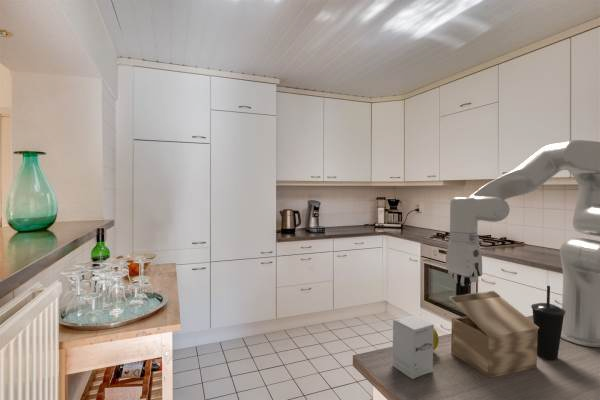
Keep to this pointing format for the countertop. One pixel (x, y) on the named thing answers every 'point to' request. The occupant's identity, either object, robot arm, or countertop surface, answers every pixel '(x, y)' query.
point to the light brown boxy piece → (493, 349)
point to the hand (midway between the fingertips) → (462, 297)
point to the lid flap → (493, 314)
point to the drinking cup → (548, 328)
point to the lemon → (435, 339)
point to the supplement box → (413, 346)
